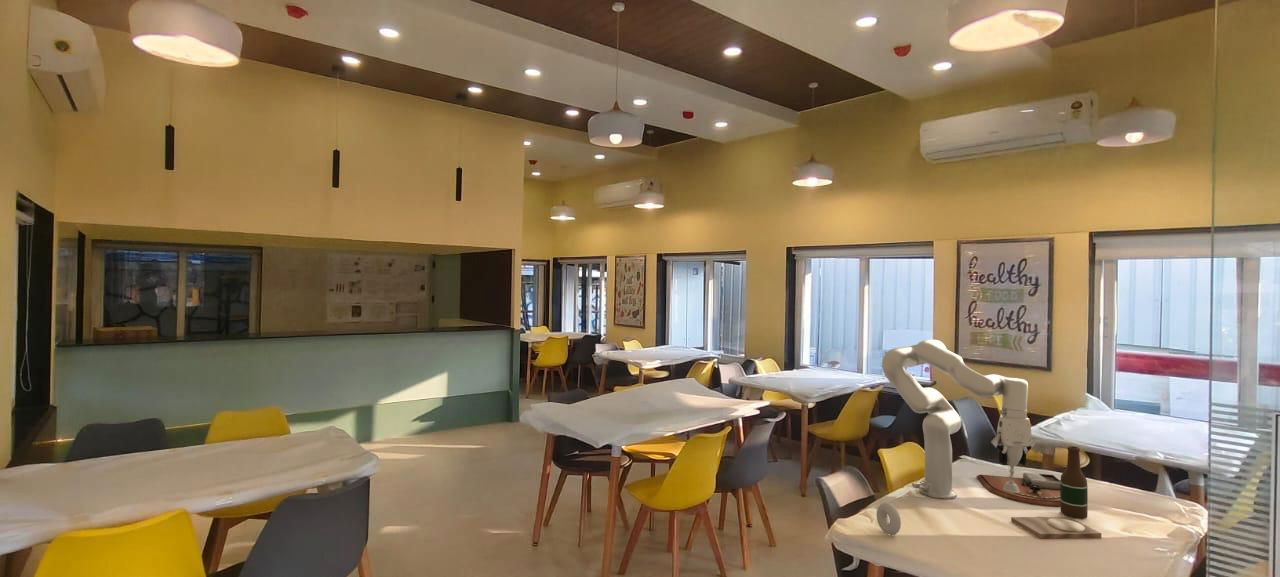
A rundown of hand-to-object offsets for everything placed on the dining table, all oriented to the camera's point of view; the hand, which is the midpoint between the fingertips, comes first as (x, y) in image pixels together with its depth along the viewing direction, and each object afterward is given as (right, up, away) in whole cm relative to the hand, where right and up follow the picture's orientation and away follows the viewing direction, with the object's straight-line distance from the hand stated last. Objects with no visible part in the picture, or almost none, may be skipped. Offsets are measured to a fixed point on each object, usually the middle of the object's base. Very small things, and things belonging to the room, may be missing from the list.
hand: (1012, 463), depth 210 cm
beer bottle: (+20, -18, -2) cm, 27 cm away
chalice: (0, -10, 0) cm, 10 cm away
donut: (-52, -18, -19) cm, 58 cm away
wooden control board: (+21, -19, +21) cm, 35 cm away
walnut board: (+5, -18, -14) cm, 23 cm away
